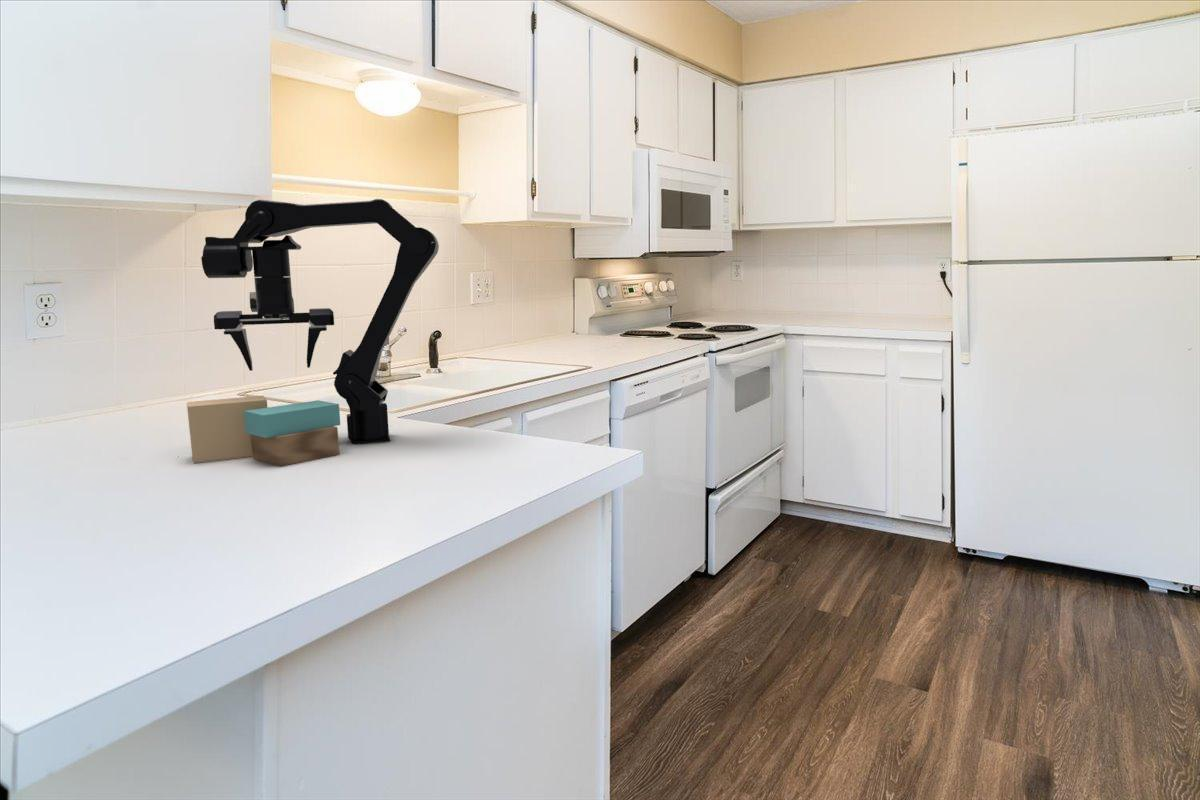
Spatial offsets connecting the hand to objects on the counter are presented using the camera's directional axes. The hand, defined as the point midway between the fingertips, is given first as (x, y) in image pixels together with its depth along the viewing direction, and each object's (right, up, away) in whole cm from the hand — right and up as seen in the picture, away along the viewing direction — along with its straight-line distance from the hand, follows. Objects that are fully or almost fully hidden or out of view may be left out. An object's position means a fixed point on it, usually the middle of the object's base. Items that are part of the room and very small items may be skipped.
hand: (280, 368), depth 135 cm
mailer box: (-5, -14, -7) cm, 17 cm away
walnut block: (+6, -14, -9) cm, 18 cm away
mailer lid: (+6, -10, -9) cm, 15 cm away
